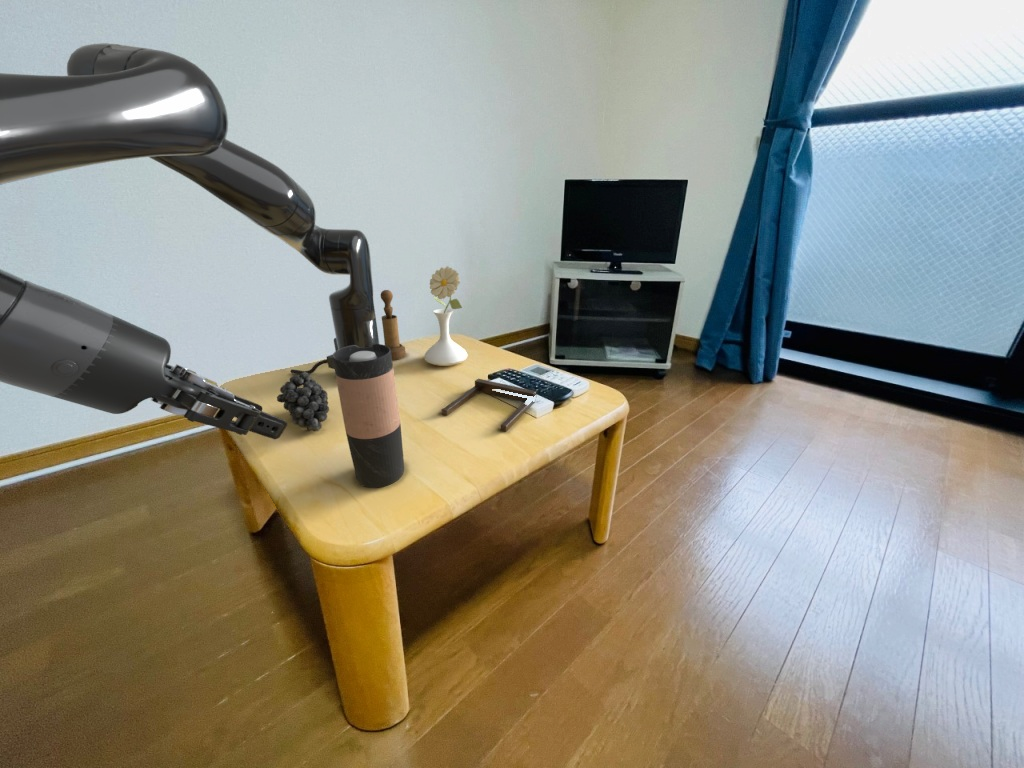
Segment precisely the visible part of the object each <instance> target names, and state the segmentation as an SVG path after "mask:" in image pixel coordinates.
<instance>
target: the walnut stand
mask: <svg viewBox="0 0 1024 768" xmlns="http://www.w3.org/2000/svg"><path fill="white" fill-rule="evenodd" d="M492 389H501V390H505V391H509V392H513V393H518V394H522V395H527V396H533V397H534V396H535V395H536V396H537V390H532V389H528V388H523V387H519V386H515V385H510V384H505V383H500V382H496V381H491V380H487V379H483V378H476V379H475V380H474V386H472V387H471V388H470V389H468V390H467V391H466V392H464V393H463V394H461V395H460V396H459V397H457V398H455V399H454V400H453V401H451V402H450V403H448V404H447V405H446V406H444V407H443V408H442V409H441V415H443V416H446V417H447V416H449V415H450V414H451V413H453V412H455V410H457V409H458V408H459V407H460V406H462V405H463V404H465V403H466V402H468V401H469V400H470V399H471V398H473V397H474V396H476V395H477V394H478V393H484V394H489V395H492V396H498V397H501V398H505V399H509V400H514V401H519V402H522V403H521V405H519V407H518V408H516V409H515V411H513V412H512V413H511V414H510V415H509V416H508V417H507V418H505V420H504V421H503V422H501V424H500V431H502V432H504V433H507V432H508V430H509V429H511V428H512V426H514V424H515V423H516V422H517V421H518V420H519V419H520V418H521V417H522V416H523V415H524V414H525V413H526V412H527V411H528V410H529V409H530V408H531V407H533V405H534V404H535V403H536V402H533V401H532V402H531V403H530V404H529V405H528V406H527V405H525V404H523V403H524V402H525V401H526V400H527V398H522V397H518V396H513V395H509V394H505V393H500V392H496V391H492Z"/></svg>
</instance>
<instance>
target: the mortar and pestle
mask: <svg viewBox="0 0 1024 768" xmlns="http://www.w3.org/2000/svg"><path fill="white" fill-rule="evenodd" d="M393 295H394V294H393V292H392V291H391V290H389V289H384V290H382V291H380V299H381V301H382V302H383V303H384V307H383V311H384V314H385V315H382V316H381V324H382V333H383V341H384V345H385V346H387V347H389V348H390V350H391V355H392V361H397V360H401V359H403V358H405V357H406V356H407V352H406V347H405V345H403V344H401V343H400V335H399V323H398V316H397V315H396V314H393V310H394V307H393V306H392V305H391V302H392V300H393V299H394V296H393Z"/></svg>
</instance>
